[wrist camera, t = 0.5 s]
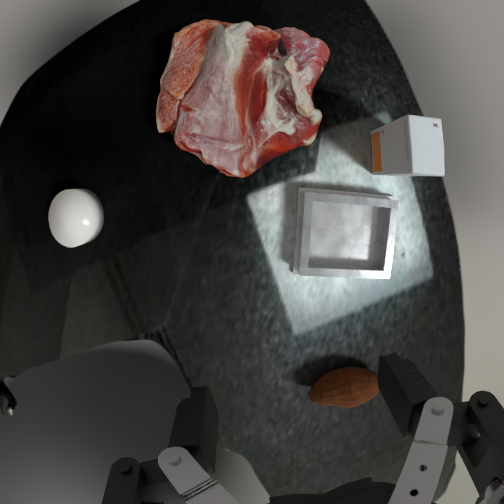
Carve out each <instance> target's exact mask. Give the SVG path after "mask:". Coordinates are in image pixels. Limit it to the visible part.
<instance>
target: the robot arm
mask: <svg viewBox="0 0 504 504" xmlns="http://www.w3.org/2000/svg"><path fill="white" fill-rule="evenodd" d="M377 382H378V388H379V390H380V393H381V394H382V396H383V398H384V400H385V402H386V404H387V406H388V408H389V410H390V412H391V414H392V416H393V418H394V420H395V422H396V424H397V426H398V428H399V430H400V432H401V434H402V436H403V438H406V437H409V436H412V438H413V443H412V446H411V449H410V452H409V454H408V457H407V460H406V462H405V465H404V468H403V470H402V473H401V475H400V478H399V480H398V482H397V485H394V484H391V483H385V482H372V479H371V477H368V478H364V479H360V480H357V481H353V482H349V483H346V484H344V485H342V486H340V487H337V488H335V489H333V490H331V491H329V492H326V493H324V494H290V495H283V496H275V497H269V498H270V503H268V504H436V503H434V502H432V499H433V496H434V493H435V490H436V487H437V484H438V481H439V477H440V474H441V470H442V467H443V463H444V459H445V456H446V452H447V447H452V446H456V448H457V450H458V452H459V454H460V456H461V458H462V459H463V462H464V464H465V466H466V468H467V470H468V472H469V474H470V476H471V478H472V480H473V482H474V485H475V487H476V489H477V491H478V493H479V498H478V499H477V501H476V503H475V504H504V408H503V407H502V406H501V404H500V403H499V402H498V400H497V399H496V398H495V396H494V395H493V394H492V393H490V392H487V391H478V392H476V393H474V394H473V395H472V396H471V398H470V400H469V401H467V402H460V403H451V401H450V400H448V399H446V398H444V397H438V395H437V394H436V392H435V391H434V390H433V388H432V387H431V385H430V384H429V383H428V381H427V380H426V378H425V377H424V376H423V374H422V373H421V372H420V370H419V369H418V367H417V366H416V365H415V363H413V362H411V361H410V360H408V359H404V360H401V359H400V357H399V356H398V354H397V353H396V352H391V353H388V354H384V355H381V356H380V357H379V366H378V378H377ZM217 431H218V411H217V407H216V404H215V402H214V399H213V396H212V393H211V390H210V388H209V386H205V387H194V388H192V391H191V396H190V398H188V399H183V400H182V401H181V402H180V404H179V405H178V406H177V410H176V416H175V419H174V423H173V428H172V432H171V437H170V441H169V446H168V449H166V450H164V451H163V452H162V453H161V454H160V455H159V457H158V458H157V459H154V460H151V461H146V462H141V463H139V462H138V461H137V460H135V459H134V458H131V457H125V458H120V459H118V460H117V461H116V462H114V463H113V465H112V467H111V470H110V473H109V477H108V481H107V485H106V489H105V493H104V497H103V501H102V504H164V502H165V501H169V500H173V499H178V498H183V499H184V501H185V502H186V503H187V504H239V503H238V502H237V501H236V500H235V499H234V498H233V497H232V496H231V495H230V494H229V493H228V492H227V491H226V490H225V489H224V488H223V487H222V486H221V485H220V484H219V483H218V482H217V481H216V480H213V479H212V478H211V477H210V476H209V475H208V474H214V472H215V458H216V444H217Z"/></svg>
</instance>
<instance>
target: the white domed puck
mask: <svg viewBox="0 0 504 504" xmlns="http://www.w3.org/2000/svg"><path fill="white" fill-rule="evenodd" d="M103 222H104V211H103V207H102V204H101V202H100V200H99V198H98V197H97V196H96V195H95V194H94V193H93V192H92V191H90V190H88V189H68V190H64V191H62V192H60V193H59V194H57V195H56V196H55V198H54V199H53V201H52V203H51V206H50V209H49V225H50V229H51V232H52V234H53V236H54V237H55V239H56V240H57V241H58V242H59V243H61V244H62V245H64V246H66V247H76V246H79V245H82V244H84V243H87V242H90V241H92V240H94V239H95V238H96V237H97V236H98V234H99V233H100V231H101V229H102V226H103Z"/></svg>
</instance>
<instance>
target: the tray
mask: <svg viewBox="0 0 504 504" xmlns="http://www.w3.org/2000/svg"><path fill="white" fill-rule="evenodd" d="M397 213H398V201H396V200H395V196H387V195H378V194H369V193H359V192H349V191H338V190H327V189H314V188H300V187H298V200H297V217H296V232H295V247H294V260H293V274H299V275H304V276H327V277H353V278H382V279H389V278H390V272H391V265H392V258H393V250H394V242H395V234H396V224H397Z"/></svg>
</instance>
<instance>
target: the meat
mask: <svg viewBox="0 0 504 504" xmlns="http://www.w3.org/2000/svg"><path fill="white" fill-rule="evenodd" d="M329 55H330V51H329V49H328V47H327V45H326V44H325V43H324V42H323V41H322V40H320V39H318V38H312V37H310V36H309V35H308V34H307V33H305V32H304V31H302V30H298V29H296V28H294V27H293V28H289V27H284V28H282V29H278V30H273V31H272V30H271V29H269V28H268V27H265V26H253V25H252V24H251V23H250V22H246V21H244V22H242V23H239V24H232V23H226V22H221V21H216V20H201V21H200V22H196V23H193V24H190V25H188V26H186V27H184V28H182V29H181V30H180V31H179V32H177V33H175V35H174V38H173V39H172V49H171V53H170V57H169V61H168V63H167V65H166V68H165V70H164V72H163V75H162V77H161V79H160V94H159V96H158V102H157V108H156V124H157V129H158V132H162V133H167V132H170V133H171V134H172V135H174V141H175V143H176V145H177V146H178V147H179V148H180V149H181V150H183V151H188V152H190V153H193V154H195V155H196V156H197V157H199V158H200V159H201V160H202V161H203V162H204V163H205V164H210V165H212V166H214V167H215V168H216V169H217V170H219V171H220V173H225V174H226V175H227V176H234V177H240V178H243V177H246V176H248V175H250V174H252V173H253V172H254V171H256V170H257V169H258V168H260V167H261V166H262V165H264V164H265V163H267V162H269V161H271V160H273V159H274V158H276V157H278V156H280V155H282V154H284V153H286V152H289V151H291V150H293V149H295V148H298V147H302V146H306V145H310V144H311V143H312V142H313V141H314V139H315V137H316V134H317V131H318V128H319V125H320V123H321V119H322V113H321V112H320V110H317V109H316V106H315V104H314V97H313V92H314V86H315V85H316V82H317V80H318V78H319V77H320V75H321V73H322V71H323V70H324V67H325V65H326V63H327V61H328V58H329ZM173 133H175V134H173Z"/></svg>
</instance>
